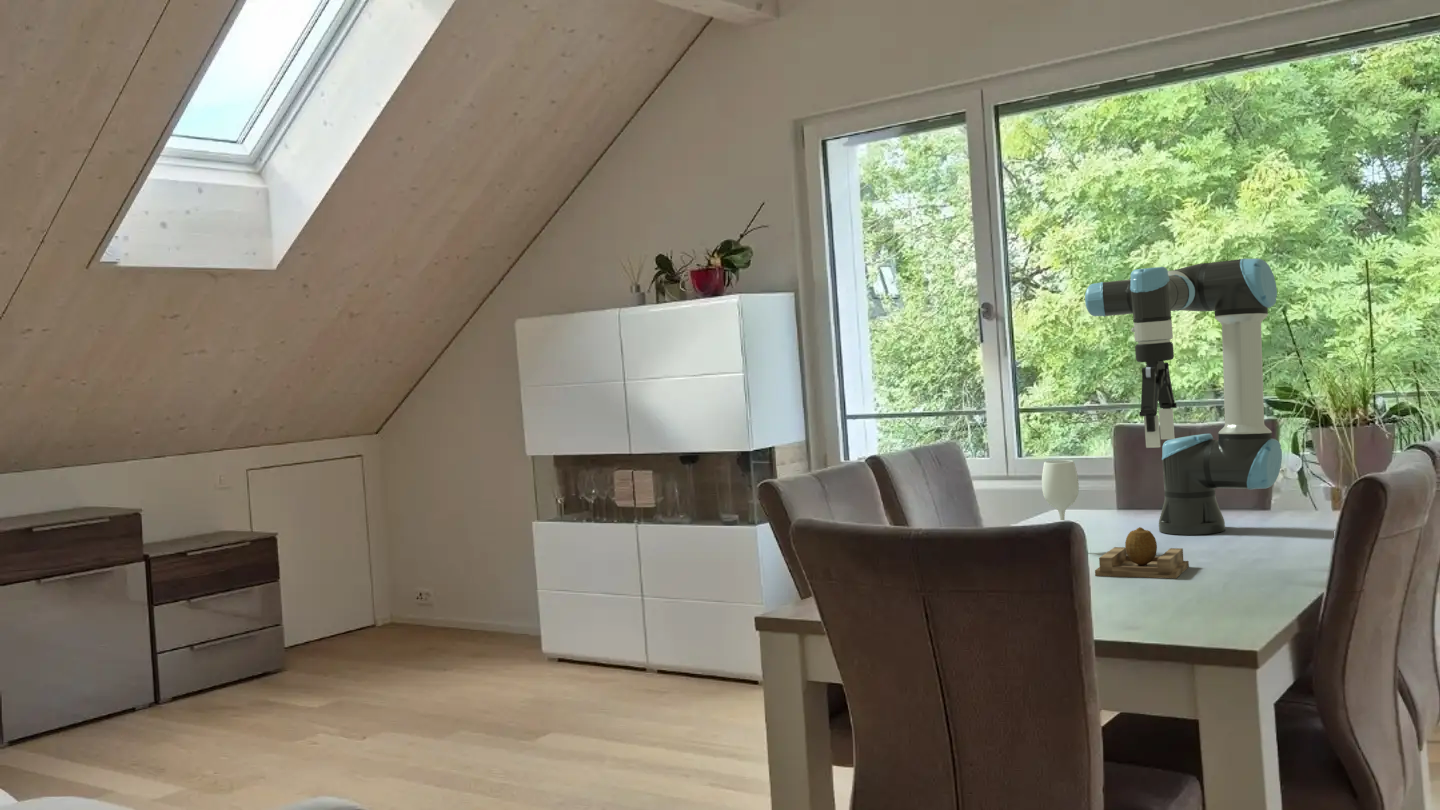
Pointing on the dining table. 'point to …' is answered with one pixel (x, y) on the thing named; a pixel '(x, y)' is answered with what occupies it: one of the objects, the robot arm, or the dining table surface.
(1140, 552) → the fruit
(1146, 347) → the robot arm
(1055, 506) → the wineglass
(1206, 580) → the dining table surface
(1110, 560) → the cradle
